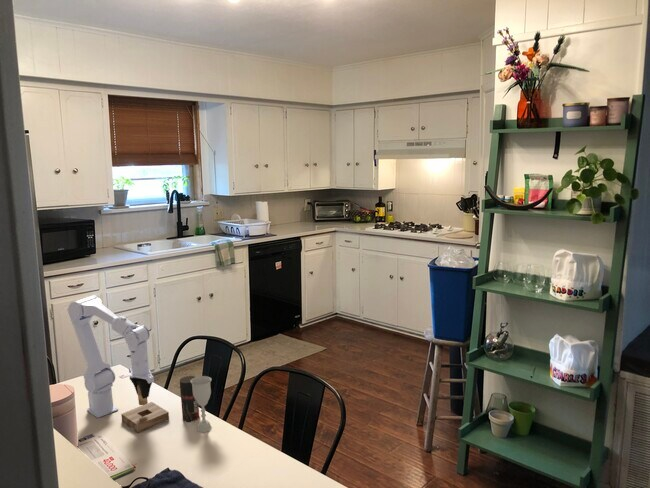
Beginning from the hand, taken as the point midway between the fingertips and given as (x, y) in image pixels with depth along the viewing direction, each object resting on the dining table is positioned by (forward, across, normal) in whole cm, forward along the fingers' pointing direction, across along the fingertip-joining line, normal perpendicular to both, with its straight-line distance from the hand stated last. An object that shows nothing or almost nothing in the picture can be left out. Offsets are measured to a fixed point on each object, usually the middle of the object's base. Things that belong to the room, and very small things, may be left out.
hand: (143, 395), depth 189 cm
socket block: (+10, 0, 0) cm, 10 cm away
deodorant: (+10, +11, +12) cm, 19 cm away
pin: (+3, 0, 0) cm, 3 cm away
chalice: (+10, +21, +11) cm, 26 cm away
